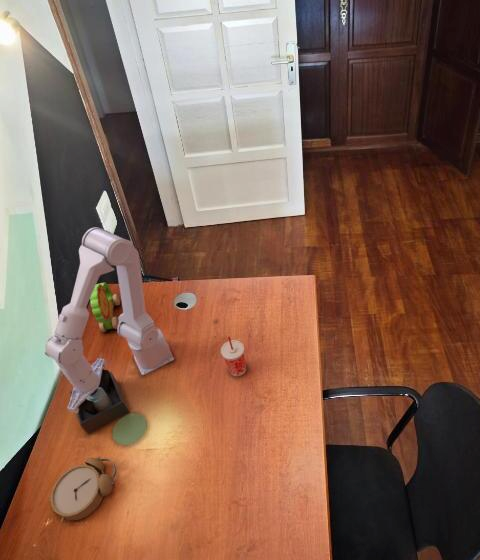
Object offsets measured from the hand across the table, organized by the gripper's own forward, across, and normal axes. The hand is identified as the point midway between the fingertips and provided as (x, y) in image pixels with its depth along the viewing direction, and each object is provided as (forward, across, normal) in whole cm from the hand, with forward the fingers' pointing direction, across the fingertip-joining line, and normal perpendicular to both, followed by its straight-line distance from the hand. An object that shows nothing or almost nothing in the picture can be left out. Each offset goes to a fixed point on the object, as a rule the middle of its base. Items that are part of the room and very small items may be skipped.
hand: (100, 402), depth 124 cm
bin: (+3, 0, 0) cm, 3 cm away
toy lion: (+3, -29, -13) cm, 32 cm away
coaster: (+3, +4, +10) cm, 11 cm away
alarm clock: (+3, +20, +7) cm, 22 cm away
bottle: (+2, 0, 0) cm, 2 cm away
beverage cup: (+3, -18, +32) cm, 36 cm away
